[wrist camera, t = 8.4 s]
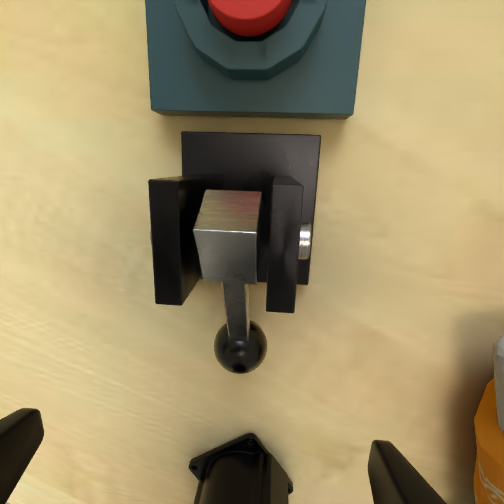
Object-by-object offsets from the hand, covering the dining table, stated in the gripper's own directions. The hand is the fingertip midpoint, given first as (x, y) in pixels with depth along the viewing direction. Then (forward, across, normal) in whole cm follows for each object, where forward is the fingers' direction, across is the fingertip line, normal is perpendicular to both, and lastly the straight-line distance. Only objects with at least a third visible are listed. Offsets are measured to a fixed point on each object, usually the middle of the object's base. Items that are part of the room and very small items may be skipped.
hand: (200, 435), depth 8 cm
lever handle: (+9, 0, -1) cm, 9 cm away
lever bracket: (+13, 0, -4) cm, 14 cm away
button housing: (+13, 0, -15) cm, 20 cm away
